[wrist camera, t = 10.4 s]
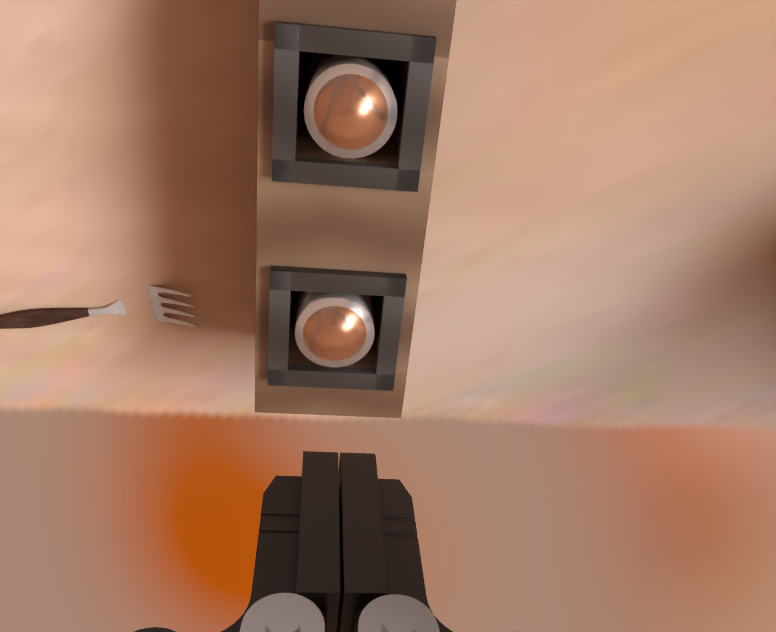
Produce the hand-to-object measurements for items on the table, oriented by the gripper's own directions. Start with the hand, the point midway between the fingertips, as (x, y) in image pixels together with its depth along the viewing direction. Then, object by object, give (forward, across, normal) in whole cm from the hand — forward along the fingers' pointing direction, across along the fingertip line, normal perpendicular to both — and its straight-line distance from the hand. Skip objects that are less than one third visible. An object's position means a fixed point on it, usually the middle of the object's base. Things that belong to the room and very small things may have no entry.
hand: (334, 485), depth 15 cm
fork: (+29, +15, +12) cm, 35 cm away
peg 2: (+27, -1, +7) cm, 28 cm away
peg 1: (+28, -1, -4) cm, 28 cm away
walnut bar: (+28, -1, +2) cm, 28 cm away
